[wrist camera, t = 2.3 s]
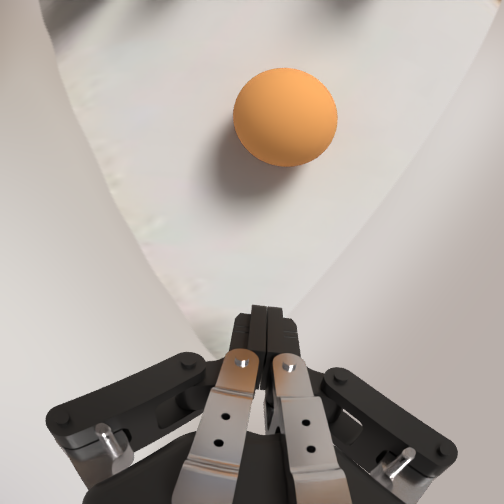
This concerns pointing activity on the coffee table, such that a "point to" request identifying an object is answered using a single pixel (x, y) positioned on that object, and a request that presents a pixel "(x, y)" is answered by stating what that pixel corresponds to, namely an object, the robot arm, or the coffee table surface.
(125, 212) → the coffee table surface
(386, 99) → the coffee table surface
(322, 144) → the ball
